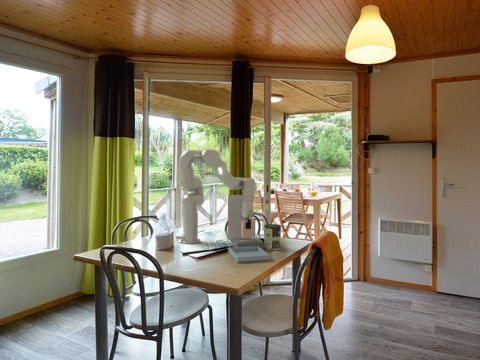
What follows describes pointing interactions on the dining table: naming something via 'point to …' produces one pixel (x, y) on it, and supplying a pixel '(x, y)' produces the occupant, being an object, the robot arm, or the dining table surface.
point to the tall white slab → (234, 216)
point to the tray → (248, 254)
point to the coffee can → (272, 236)
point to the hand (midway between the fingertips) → (247, 227)
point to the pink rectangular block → (247, 232)
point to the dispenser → (247, 242)
